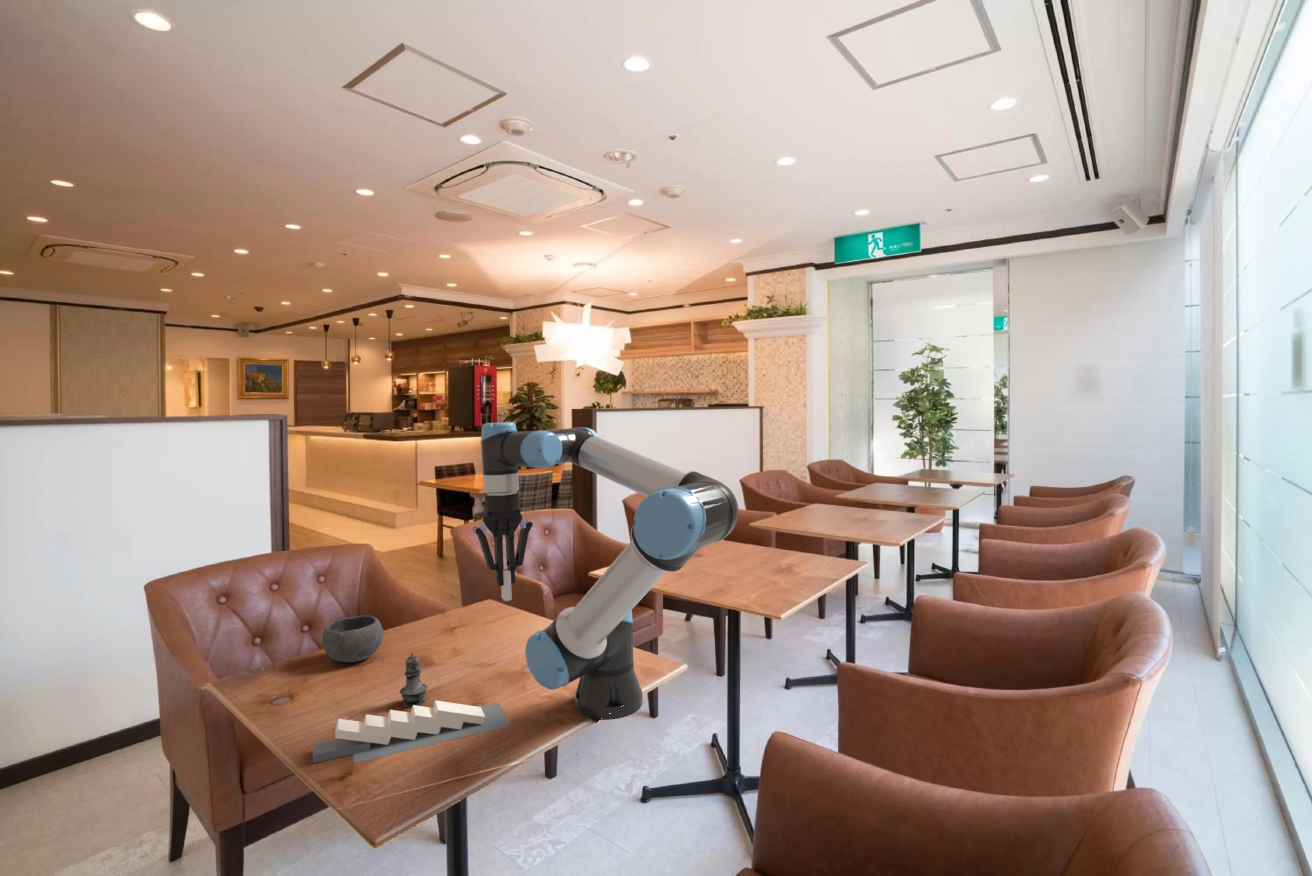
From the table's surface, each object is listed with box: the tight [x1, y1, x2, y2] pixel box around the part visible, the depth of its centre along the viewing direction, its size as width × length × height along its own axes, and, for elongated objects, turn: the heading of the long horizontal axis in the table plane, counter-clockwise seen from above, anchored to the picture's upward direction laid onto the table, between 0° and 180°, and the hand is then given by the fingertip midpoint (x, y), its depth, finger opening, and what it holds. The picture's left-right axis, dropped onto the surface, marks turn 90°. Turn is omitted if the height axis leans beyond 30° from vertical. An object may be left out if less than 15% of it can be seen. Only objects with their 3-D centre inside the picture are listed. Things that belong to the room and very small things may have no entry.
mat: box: [352, 702, 512, 764], centre depth 136 cm, size 30×12×1 cm, turn 115°
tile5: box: [334, 718, 391, 745], centre depth 130 cm, size 2×5×10 cm
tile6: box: [312, 737, 370, 764], centre depth 129 cm, size 2×5×10 cm
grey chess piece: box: [399, 652, 428, 708], centre depth 148 cm, size 6×6×12 cm
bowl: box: [321, 615, 384, 664], centre depth 176 cm, size 15×15×10 cm
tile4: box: [362, 714, 418, 740], centre depth 132 cm, size 2×5×10 cm
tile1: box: [432, 699, 485, 724], centre depth 138 cm, size 2×5×10 cm
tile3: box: [386, 709, 441, 735], centre depth 134 cm, size 2×5×10 cm
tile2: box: [409, 705, 463, 729], centre depth 136 cm, size 2×5×10 cm
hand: (506, 599), depth 144 cm, fingers closed
